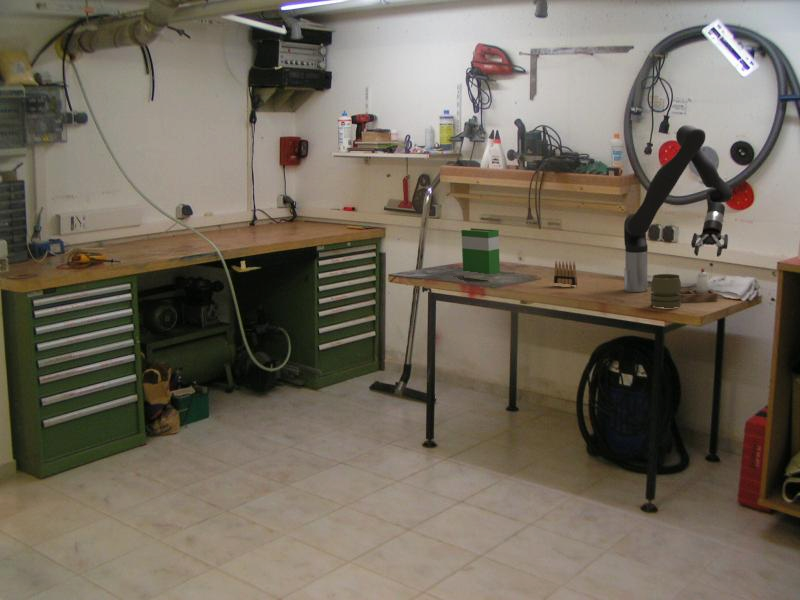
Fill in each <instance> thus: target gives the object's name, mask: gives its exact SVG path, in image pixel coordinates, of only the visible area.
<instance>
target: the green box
mask: <svg viewBox="0 0 800 600" xmlns="http://www.w3.org/2000/svg"><path fill="white" fill-rule="evenodd" d="M460 233H461V250H462V272H463V271H470V272H478V273H484V274H497V273H500V272H501V271H500V270H501V269H500V267H501V265H500V236H499V229H487V228H473V227H472V228H470V229H469V230H468V229H461V232H460ZM500 274H501V273H500Z"/></svg>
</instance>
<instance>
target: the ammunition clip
mask: <svg viewBox="0 0 800 600" xmlns="http://www.w3.org/2000/svg"><path fill="white" fill-rule="evenodd" d="M554 283H562V284H570V285H577V286H578V279H577V269H576V262H575V261H573V262H572V261H571V260H570V261H569V263H568V261H567V260H566V262H565V261H564V260H562V263H561V260H559V261H557V260H555V261H554V275H553V284H554Z"/></svg>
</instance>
